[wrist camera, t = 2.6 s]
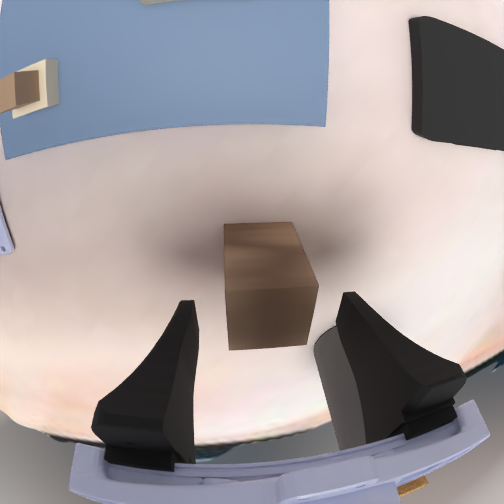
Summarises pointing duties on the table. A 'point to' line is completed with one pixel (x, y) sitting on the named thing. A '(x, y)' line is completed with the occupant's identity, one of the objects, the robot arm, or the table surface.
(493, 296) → the table surface
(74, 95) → the board
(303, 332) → the walnut block
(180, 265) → the table surface
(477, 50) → the smart home device
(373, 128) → the table surface
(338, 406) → the bottle
